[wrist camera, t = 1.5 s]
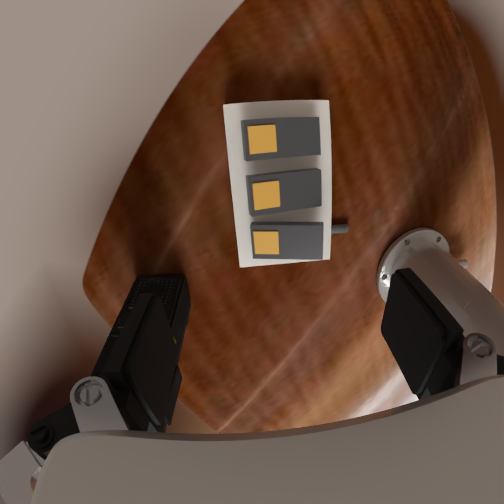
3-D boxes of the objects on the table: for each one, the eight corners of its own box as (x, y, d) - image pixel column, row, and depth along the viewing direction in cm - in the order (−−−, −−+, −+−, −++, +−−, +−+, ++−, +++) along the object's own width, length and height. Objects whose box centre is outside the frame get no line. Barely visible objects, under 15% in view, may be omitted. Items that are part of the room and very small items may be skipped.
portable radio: (192, 270, 35) (145, 473, 12) (200, 309, 37) (173, 496, 15) (134, 273, 35) (49, 448, 12) (145, 311, 37) (88, 478, 15)
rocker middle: (312, 166, 27) (322, 169, 25) (313, 201, 28) (322, 206, 27) (243, 174, 26) (248, 177, 24) (246, 211, 27) (252, 217, 25)
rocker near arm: (322, 218, 28) (323, 226, 26) (322, 251, 29) (322, 260, 28) (253, 218, 29) (249, 225, 27) (256, 250, 31) (252, 259, 29)
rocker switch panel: (347, 102, 26) (357, 101, 24) (346, 245, 34) (354, 256, 31) (224, 106, 26) (223, 104, 24) (240, 254, 34) (240, 267, 31)
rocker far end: (310, 117, 25) (319, 116, 23) (312, 152, 26) (321, 155, 25) (238, 120, 23) (243, 119, 22) (241, 159, 25) (247, 161, 23)
